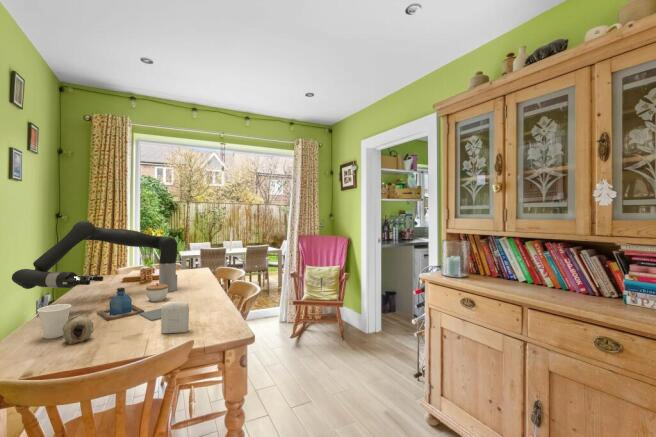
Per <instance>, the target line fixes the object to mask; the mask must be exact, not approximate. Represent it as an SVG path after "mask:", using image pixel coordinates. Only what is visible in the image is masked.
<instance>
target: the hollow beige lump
mask: <svg viewBox="0 0 656 437" xmlns="http://www.w3.org/2000/svg"><path fill="white" fill-rule="evenodd" d="M94 327H95V326H94V322H93V321H92V319H91V318H89V317H86V316H85V314H81V315H78V314H75V315H73V316H71V317H70V318H68V320H67V322H66V323H65V324H64V326H63V328H62V330H63V336H62V337H63V338H64V340H65V342H66V343H68V344H69V345H70V344H73V345H75V344H77V343H83V342H84V341H85V340H88V339H90V338H91V336H92V334H93V333H94Z"/></svg>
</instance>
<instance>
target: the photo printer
mask: <svg viewBox="0 0 656 437" xmlns="http://www.w3.org/2000/svg"><path fill="white" fill-rule="evenodd" d="M161 308H162V310H161V319H160V333H161V334H173V333H174V334H176V333H177V334H178V333H187V332H188V331H189V328H190V327H189V326H190V325H189V322H190V305H189V303H188V302H186V301H182V300H180V301H179V300H173V301H168V302H167V301H166V302H164V303H163V304H162V305H161Z"/></svg>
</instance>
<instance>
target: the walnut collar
mask: <svg viewBox="0 0 656 437" xmlns="http://www.w3.org/2000/svg"><path fill="white" fill-rule="evenodd" d="M109 310H110V308H107V309H101V310H97V311H96V315H98V316H99V317H100V318H102V319H104V320H105V321H107V322H108V321H110V322H111V321H113V320H114V321H115V320H117V319H118V320H119V319H123V318H128V317H132V316H137V315H139V313H142V312H145V309H143V308H140V307H138V306H136V305H135V304H132V312H129V313H124V314H119V315H115V316H113V315H109Z"/></svg>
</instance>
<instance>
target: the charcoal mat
mask: <svg viewBox="0 0 656 437" xmlns="http://www.w3.org/2000/svg"><path fill="white" fill-rule="evenodd" d="M161 310H162V307H161V308H156V309H152V310H147V311H144V312H142V313H139V314H138V315H139V316H141V317H143V318H145V319H147V320H148V321H151V322H154V321H158V320H161Z"/></svg>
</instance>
